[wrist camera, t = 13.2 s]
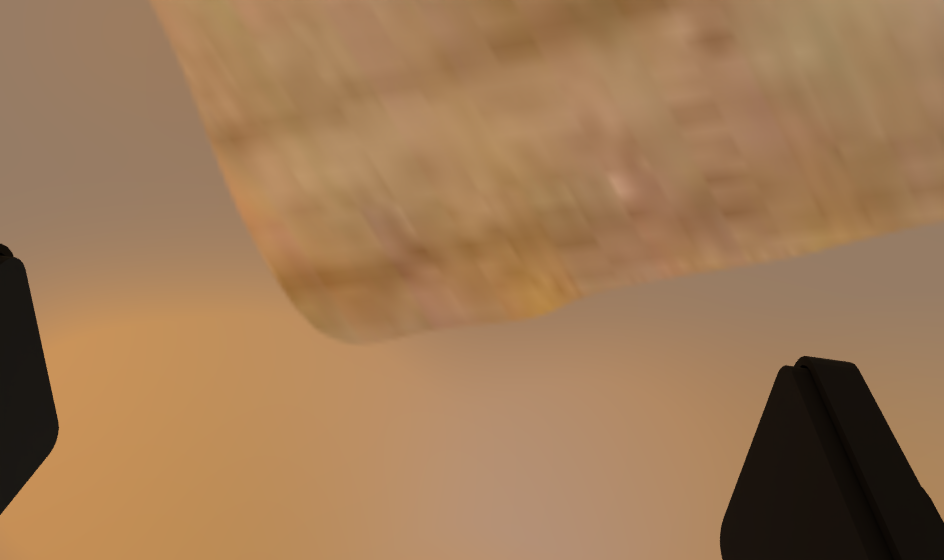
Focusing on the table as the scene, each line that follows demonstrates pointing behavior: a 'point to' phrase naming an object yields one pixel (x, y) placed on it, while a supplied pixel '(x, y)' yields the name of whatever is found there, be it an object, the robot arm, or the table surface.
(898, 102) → the table surface
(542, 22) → the table surface
